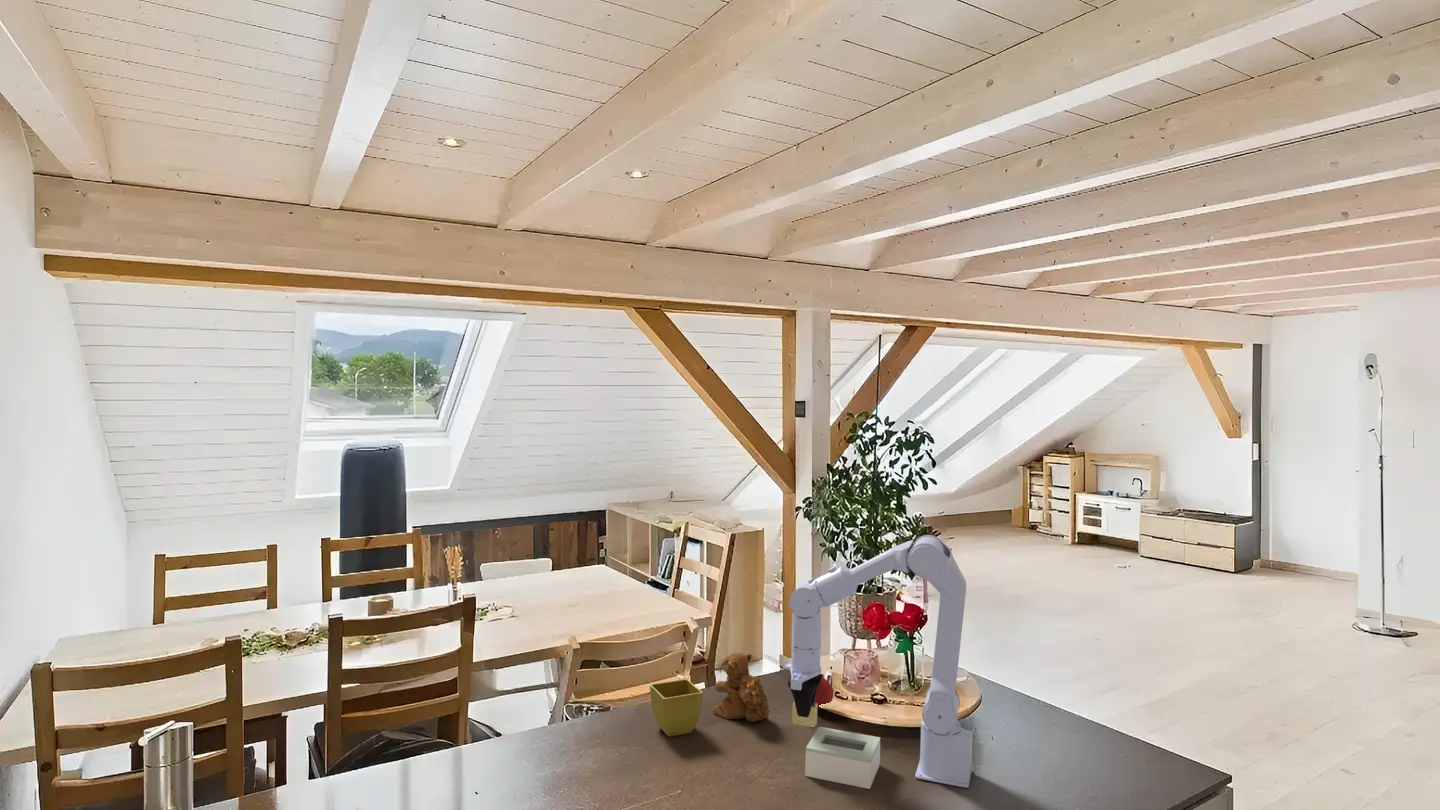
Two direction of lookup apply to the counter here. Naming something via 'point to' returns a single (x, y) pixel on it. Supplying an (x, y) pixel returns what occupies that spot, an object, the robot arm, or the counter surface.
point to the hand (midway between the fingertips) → (804, 713)
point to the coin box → (843, 757)
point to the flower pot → (676, 706)
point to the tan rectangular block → (805, 721)
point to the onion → (824, 693)
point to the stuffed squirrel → (741, 691)
